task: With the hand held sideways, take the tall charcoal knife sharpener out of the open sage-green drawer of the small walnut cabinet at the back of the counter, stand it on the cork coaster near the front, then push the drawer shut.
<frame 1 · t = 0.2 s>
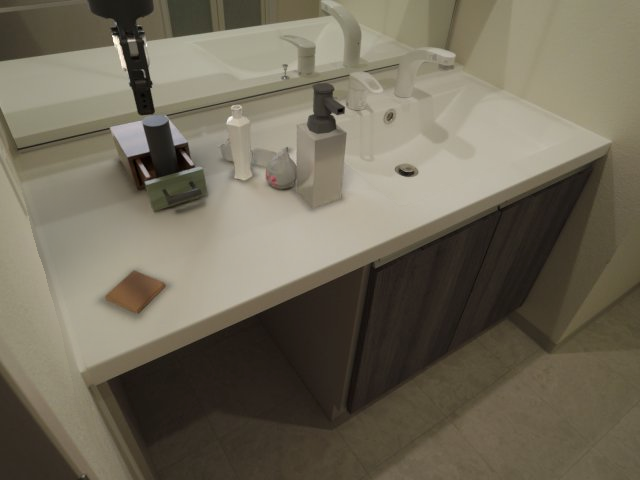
hand: (142, 100, 60), 23 cm above the counter, tool pointing down, fingers open, 8 cm apart
perfume bottle: (243, 175, 88), on the counter
coaster: (136, 292, 63), on the counter
drawer: (171, 179, 79), point 4 cm above the counter, slide at 8.0 cm, touching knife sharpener
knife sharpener: (170, 182, 81), point 2 cm above the counter, touching drawer
eyeglasses: (255, 155, 94), on the counter
soap dispenser: (321, 198, 83), on the counter
figurine: (281, 186, 85), on the counter
cabinet: (156, 167, 89), on the counter
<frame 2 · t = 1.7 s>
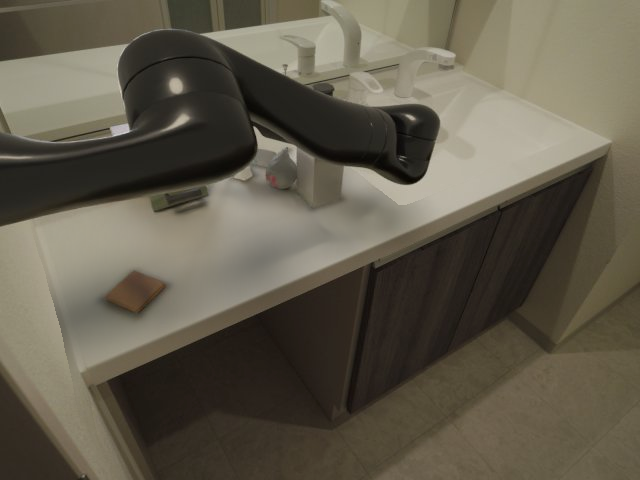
hand: (203, 95, 65), 22 cm above the counter, tool horizontal, fingers open, 8 cm apart
nothing on the counter moved.
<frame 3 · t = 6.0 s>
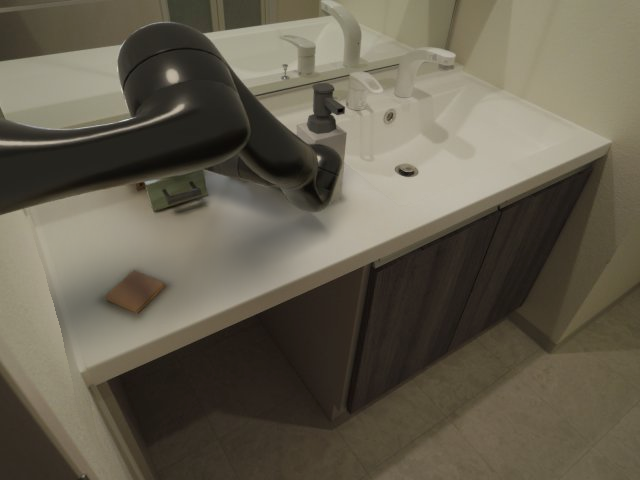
hand: (146, 129, 75), 13 cm above the counter, tool horizontal, fingers closed on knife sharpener, 4 cm apart
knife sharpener: (170, 182, 81), point 2 cm above the counter, touching drawer, gripper
everything else where it was.
when the fingers open (11 cm above the counter, at t = 14.6 s): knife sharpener stays where it is, resting on coaster.
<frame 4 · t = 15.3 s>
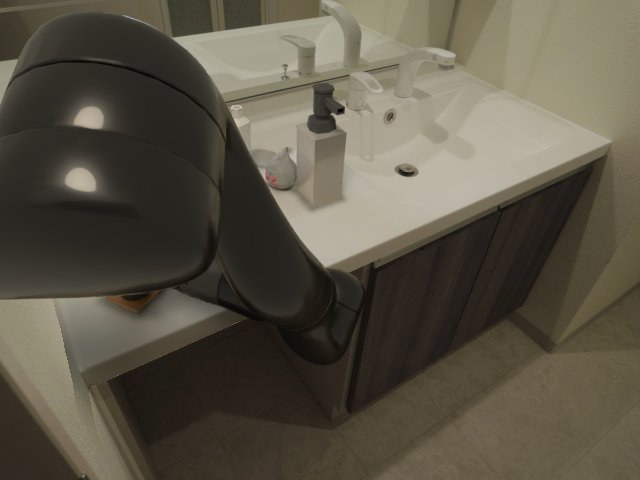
hand: (101, 228, 55), 12 cm above the counter, tool horizontal, fingers open, 8 cm apart
drawer: (171, 179, 79), point 4 cm above the counter, slide at 8.0 cm
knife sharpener: (136, 289, 62), point 1 cm above the counter, touching coaster
everything else where it was.
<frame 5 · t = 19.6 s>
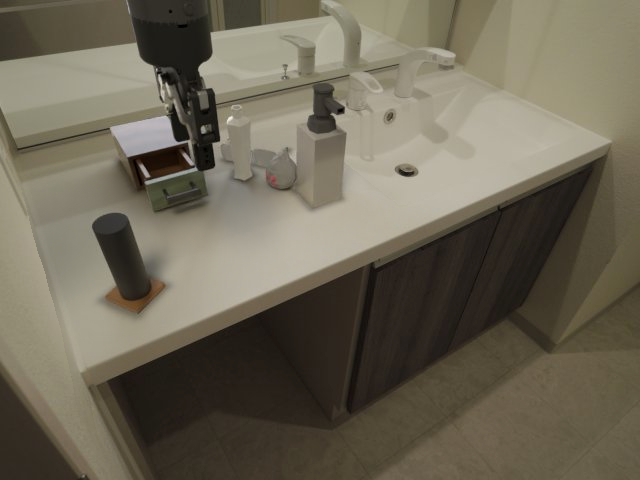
hand: (194, 153, 52), 22 cm above the counter, tool pointing down, fingers open, 7 cm apart
nothing on the counter moved.
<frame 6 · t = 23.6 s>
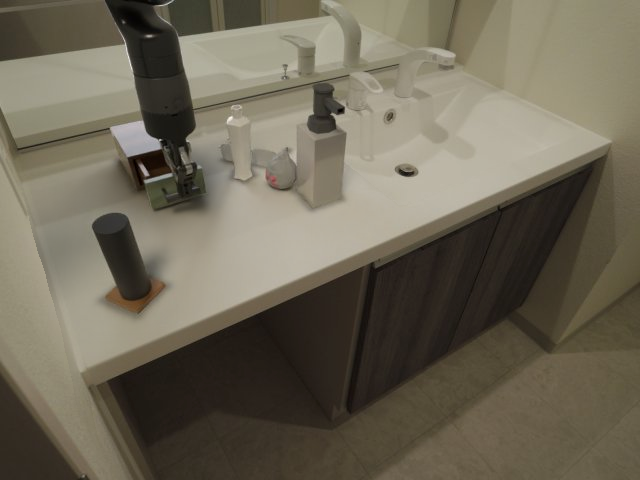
hand: (186, 195, 73), 5 cm above the counter, tool pointing down, fingers closed
drawer: (170, 177, 79), point 4 cm above the counter, slide at 7.6 cm, touching gripper
everything else where it was.
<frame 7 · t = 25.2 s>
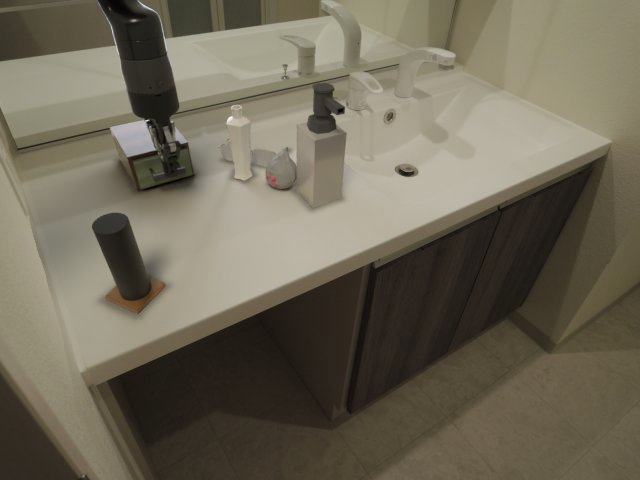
hand: (171, 174, 78), 5 cm above the counter, tool pointing down, fingers closed
drawer: (158, 159, 84), point 4 cm above the counter, slide at 0.0 cm, touching cabinet, gripper
everything else where it was.
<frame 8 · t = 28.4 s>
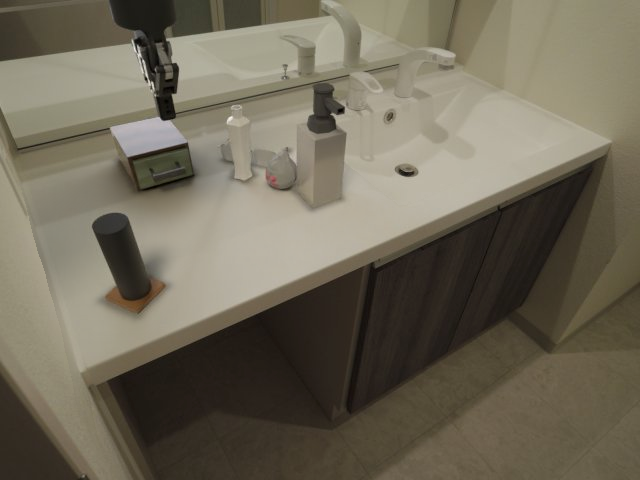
hand: (167, 118, 60), 21 cm above the counter, tool pointing down, fingers closed
drawer: (158, 159, 84), point 4 cm above the counter, slide at 0.0 cm, touching cabinet
everything else where it was.
at the end: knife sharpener 0.2 cm off-centre on the coaster, point 0.8 cm above the coaster's base; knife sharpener tilted 0°; drawer slide at 0.0 cm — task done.
